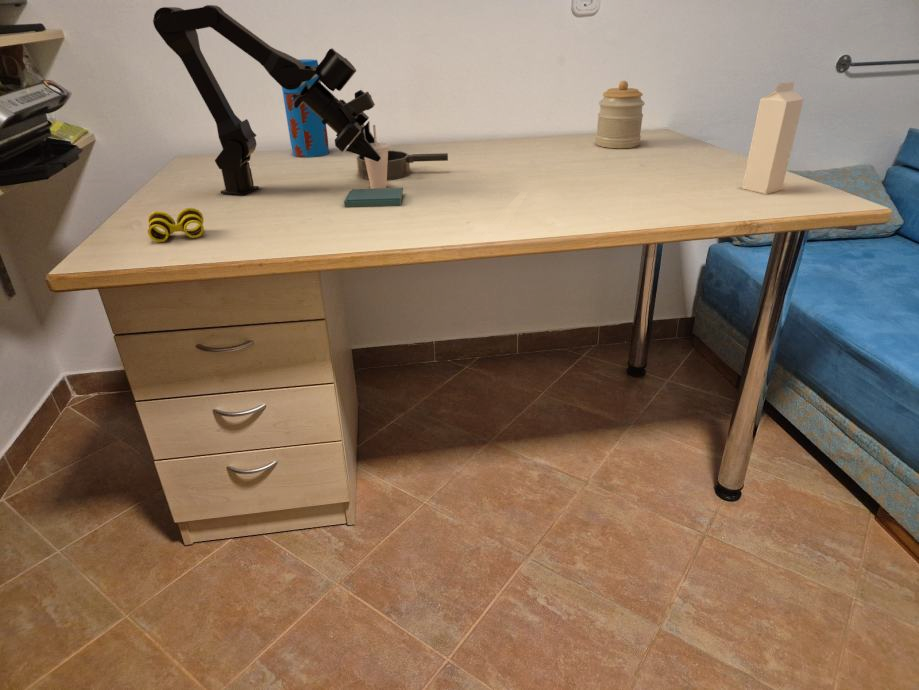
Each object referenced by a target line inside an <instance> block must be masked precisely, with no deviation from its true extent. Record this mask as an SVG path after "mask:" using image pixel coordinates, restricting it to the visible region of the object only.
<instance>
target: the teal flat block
mask: <svg viewBox="0 0 919 690" xmlns="http://www.w3.org/2000/svg"><path fill="white" fill-rule="evenodd" d="M403 191H404V188H403V187H386V188H377V189H371V188H352V189H351V190H349V191H348V194H347V195H346V197H345V199H344V201H343V204H344V208H361V207H363V208H364V207H366V208H367V207H394V206H395V207H399V206H401V205H402V200H403V195H404V192H403Z"/></svg>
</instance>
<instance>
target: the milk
mask: <svg viewBox="0 0 919 690" xmlns="http://www.w3.org/2000/svg"><path fill="white" fill-rule="evenodd" d="M794 84H795V82H794V81H789V82H780V83H777V84H776V85H775V91H773V92H772V93H770V94H768V95H766V96H764V97H762V98H760V100H759V105H758V109H757V114H756V119H755V123H754V128H753V134H752V139H751V143H750V148H749V152H748V157H747V162H746V167H745V171H744V177H743V180H742V186H741V189H743V190H746V191H751V192H756V193H759V194H764V195H767V194H771V193H775V192H779V191H781V190H782V189H783V186H784V182H785V179H786V174H787V171H788V165H789V163H790V162H789V161H790V157H791V154H792V153H791V152H792V149H793V144H794V140H795V137H796V132H797V128H798V124H799V120H800V117H801V112H802V109H803V103H804V98H803V97H802V96H801V95H799V93H797V92H796V91H795V90H794V89H793V88H794Z"/></svg>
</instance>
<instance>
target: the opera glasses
mask: <svg viewBox="0 0 919 690" xmlns="http://www.w3.org/2000/svg"><path fill="white" fill-rule="evenodd" d="M147 222H148V229H147V235H148V237H149V238H150V239H151V240H152V241H154V242H156V243H164V242H166V241H167V240H168V238H169V237H170V236H171V235H172V234H174V233H176V232H181V233H182V232H183V233H185V235H186V236H187V237H189V238H192V239H195V238H196V239H197V238H199V237H201V236H202V235H203V234H204V232H205V227H204V216H203V213H202V212H201V211H200V210H199V209H198V208H195V207H186V208H183V209H182V210H181V211H179V213H178V214H177V217H176V221H175V219H174V218H173V217H172V215H170V214H169V213H167V212H165V211H159V210H158V211H157V210H156V211H153V212H152V213H150V214H149V216H148V219H147ZM190 224H197V225H196V226H195V227H193V228H187V227H188V226H189V225H190ZM158 228H159V229H158ZM160 229H162V230H160Z"/></svg>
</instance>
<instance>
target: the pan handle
mask: <svg viewBox="0 0 919 690" xmlns="http://www.w3.org/2000/svg"><path fill="white" fill-rule="evenodd" d="M448 161H449V153H448V152H446V153H444V152H443V153H441V152H440V153H413V154H409V163H410V164H413V163H415V162H448Z"/></svg>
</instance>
